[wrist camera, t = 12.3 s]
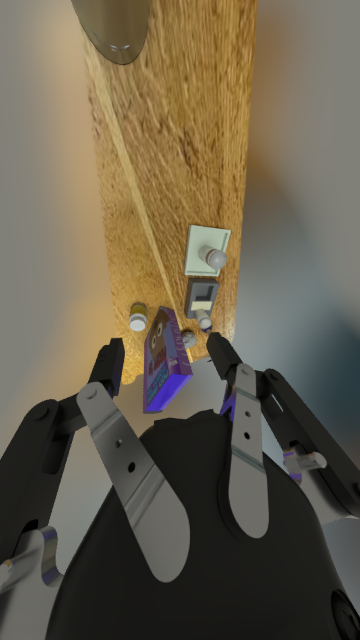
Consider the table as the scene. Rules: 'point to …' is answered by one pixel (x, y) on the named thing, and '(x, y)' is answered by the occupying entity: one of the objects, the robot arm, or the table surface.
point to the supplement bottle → (138, 317)
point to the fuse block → (201, 300)
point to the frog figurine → (189, 339)
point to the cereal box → (164, 362)
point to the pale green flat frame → (196, 240)
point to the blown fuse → (212, 257)
